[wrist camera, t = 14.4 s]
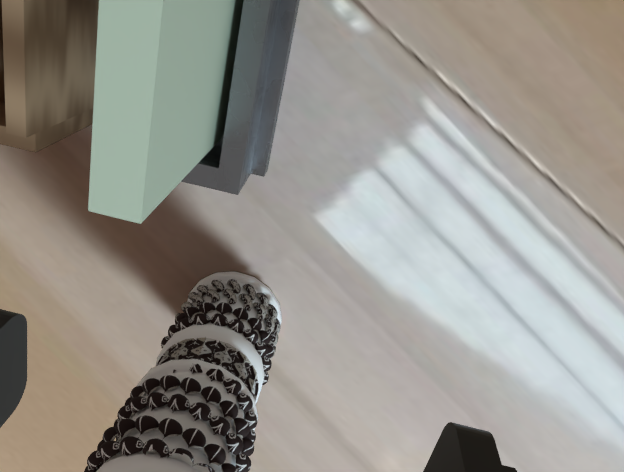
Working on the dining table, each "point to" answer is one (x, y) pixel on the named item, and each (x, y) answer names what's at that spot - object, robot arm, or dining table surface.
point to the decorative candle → (200, 385)
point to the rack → (46, 70)
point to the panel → (157, 97)
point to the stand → (251, 97)
